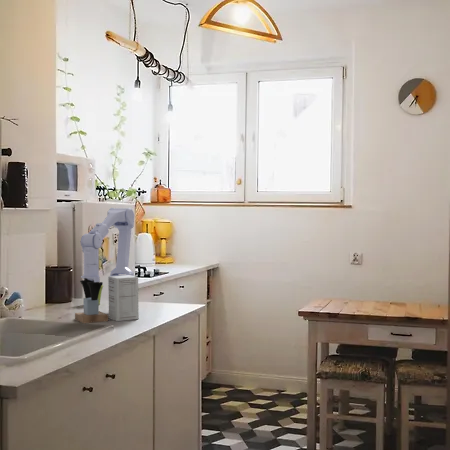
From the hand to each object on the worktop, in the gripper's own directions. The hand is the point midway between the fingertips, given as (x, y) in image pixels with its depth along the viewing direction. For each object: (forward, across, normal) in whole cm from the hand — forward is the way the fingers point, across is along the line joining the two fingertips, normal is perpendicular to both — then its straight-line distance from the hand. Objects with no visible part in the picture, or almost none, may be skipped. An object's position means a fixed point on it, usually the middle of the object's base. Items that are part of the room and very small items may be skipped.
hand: (91, 299), depth 244 cm
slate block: (+6, 0, 0) cm, 6 cm away
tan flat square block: (+9, 0, 0) cm, 9 cm away
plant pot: (+9, -41, +14) cm, 44 cm away
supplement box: (+8, +3, +12) cm, 15 cm away
